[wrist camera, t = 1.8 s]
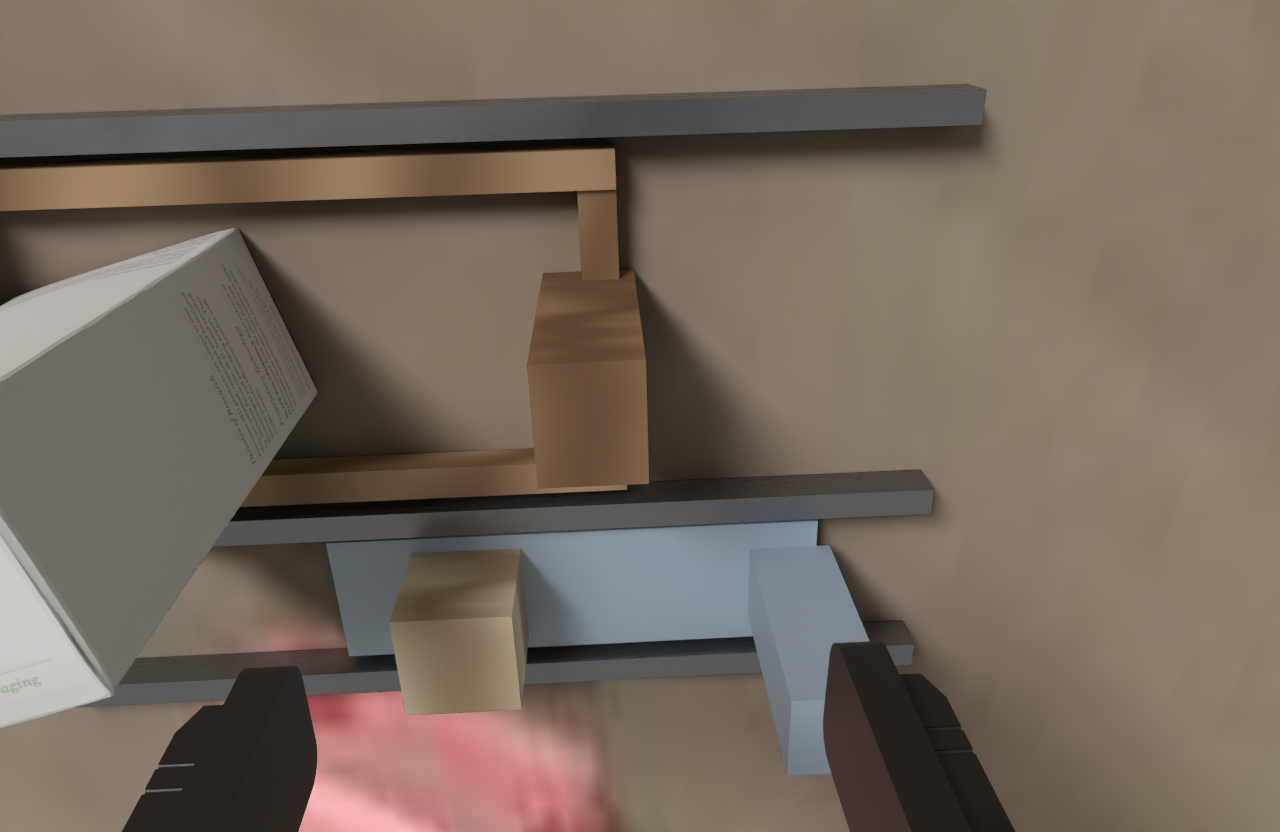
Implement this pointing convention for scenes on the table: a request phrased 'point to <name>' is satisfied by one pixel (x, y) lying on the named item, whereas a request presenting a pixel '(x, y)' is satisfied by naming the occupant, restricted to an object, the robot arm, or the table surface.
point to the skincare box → (127, 454)
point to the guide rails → (523, 511)
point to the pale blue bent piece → (651, 600)
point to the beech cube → (461, 632)
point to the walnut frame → (563, 329)
